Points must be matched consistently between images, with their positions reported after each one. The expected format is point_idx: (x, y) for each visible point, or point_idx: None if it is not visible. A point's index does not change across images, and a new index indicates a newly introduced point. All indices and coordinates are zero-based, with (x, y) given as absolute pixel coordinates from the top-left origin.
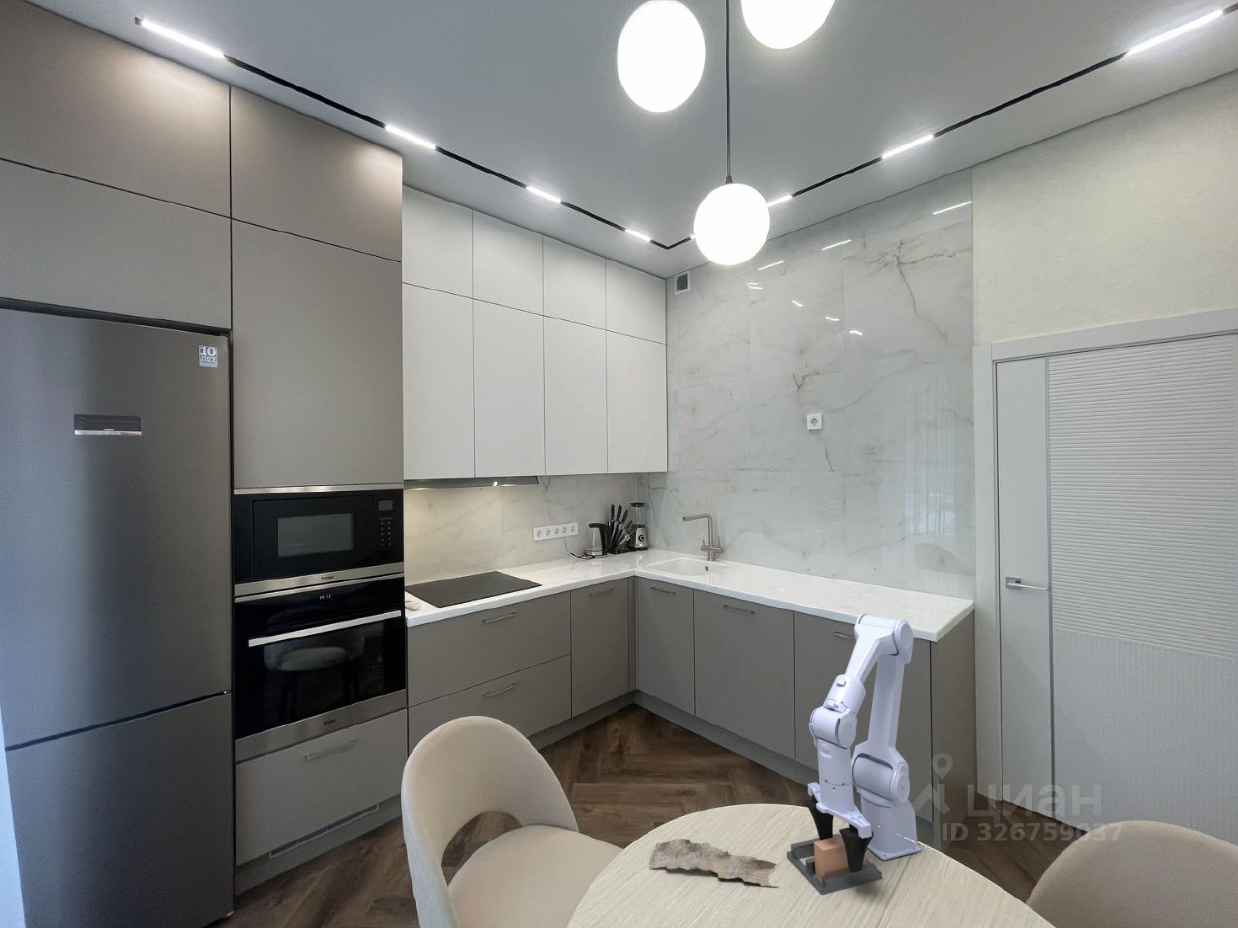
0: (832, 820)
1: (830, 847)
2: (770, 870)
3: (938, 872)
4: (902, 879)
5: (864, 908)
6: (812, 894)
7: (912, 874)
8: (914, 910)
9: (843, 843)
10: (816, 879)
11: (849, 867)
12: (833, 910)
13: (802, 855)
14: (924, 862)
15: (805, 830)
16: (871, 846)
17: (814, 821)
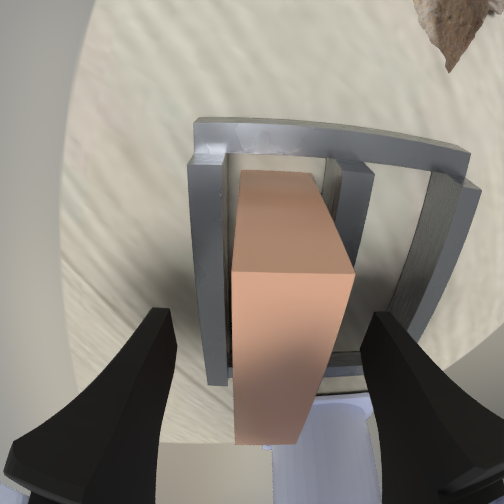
0: (381, 440)
1: (244, 334)
2: (425, 9)
3: (200, 433)
4: (197, 389)
5: (99, 236)
6: (215, 77)
7: (207, 408)
8: (91, 343)
9: (252, 397)
10: (260, 143)
11: (159, 316)
12: (106, 114)
13: (428, 208)
14: (233, 434)
15: (483, 303)
16: (318, 405)
17: (450, 380)
